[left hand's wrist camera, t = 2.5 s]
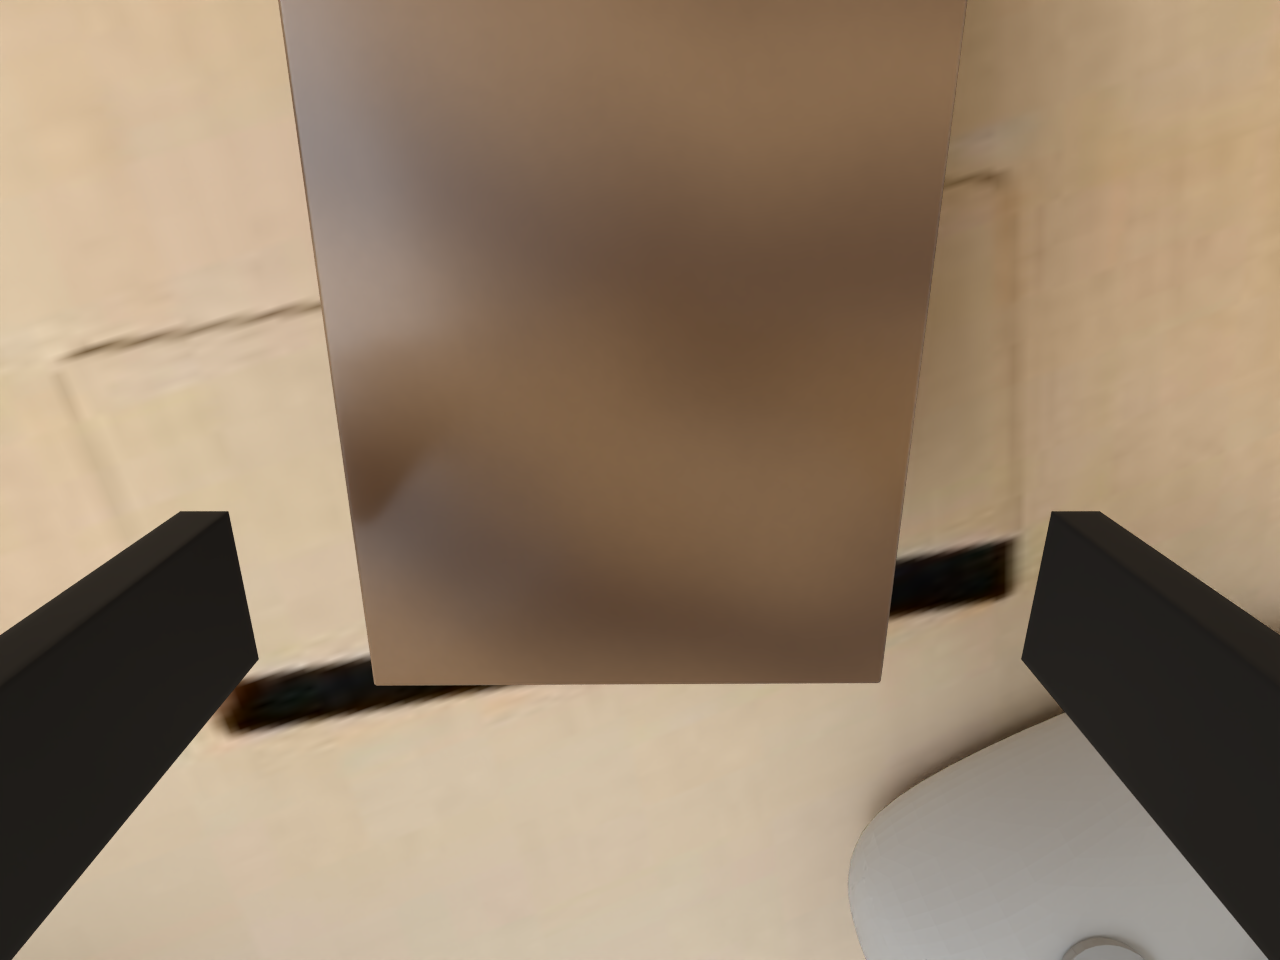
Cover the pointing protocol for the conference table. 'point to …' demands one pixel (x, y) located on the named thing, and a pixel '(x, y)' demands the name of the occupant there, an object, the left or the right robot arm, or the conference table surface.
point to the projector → (1031, 866)
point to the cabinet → (624, 324)
